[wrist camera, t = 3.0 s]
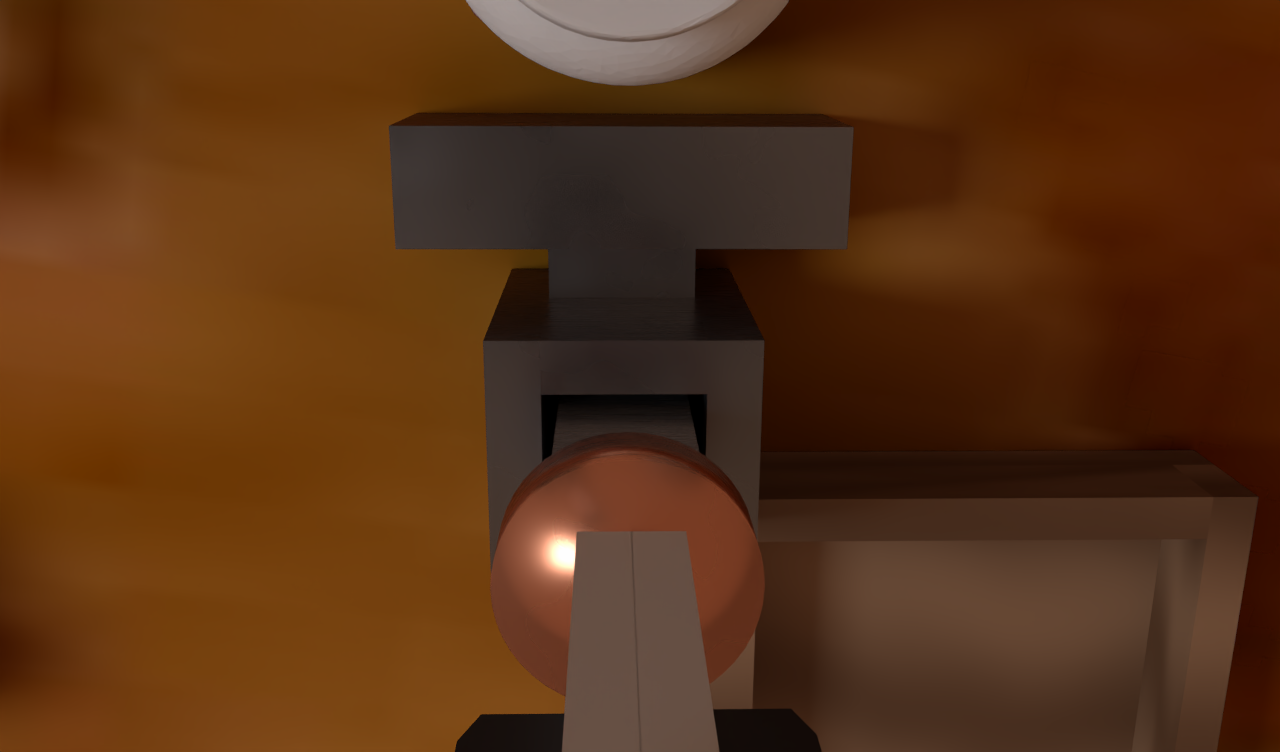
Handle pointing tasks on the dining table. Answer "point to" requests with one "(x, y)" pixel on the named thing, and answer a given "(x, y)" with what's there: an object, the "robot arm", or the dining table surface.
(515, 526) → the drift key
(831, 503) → the tray
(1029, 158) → the dining table surface
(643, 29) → the pill bottle
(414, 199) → the socket
